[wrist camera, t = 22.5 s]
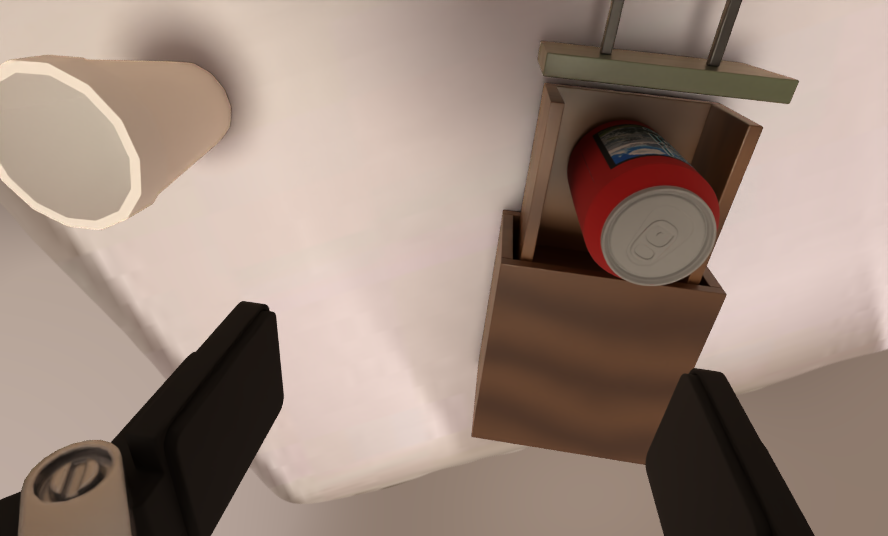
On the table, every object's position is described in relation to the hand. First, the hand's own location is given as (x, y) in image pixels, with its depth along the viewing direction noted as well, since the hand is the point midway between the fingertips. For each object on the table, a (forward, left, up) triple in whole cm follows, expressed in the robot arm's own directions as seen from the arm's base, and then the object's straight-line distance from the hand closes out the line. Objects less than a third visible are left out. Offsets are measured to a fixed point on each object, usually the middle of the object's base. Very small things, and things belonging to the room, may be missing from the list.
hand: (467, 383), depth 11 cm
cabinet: (+14, +11, -28) cm, 33 cm away
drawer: (-2, +8, -27) cm, 29 cm away
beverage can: (0, +9, -26) cm, 28 cm away
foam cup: (+6, -23, -28) cm, 37 cm away
